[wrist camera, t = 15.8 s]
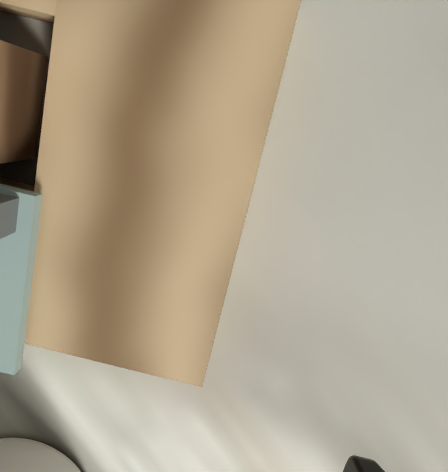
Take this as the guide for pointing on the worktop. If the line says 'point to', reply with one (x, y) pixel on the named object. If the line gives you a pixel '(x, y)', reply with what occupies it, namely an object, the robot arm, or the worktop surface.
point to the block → (20, 101)
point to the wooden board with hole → (148, 172)
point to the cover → (16, 269)
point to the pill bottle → (32, 457)
